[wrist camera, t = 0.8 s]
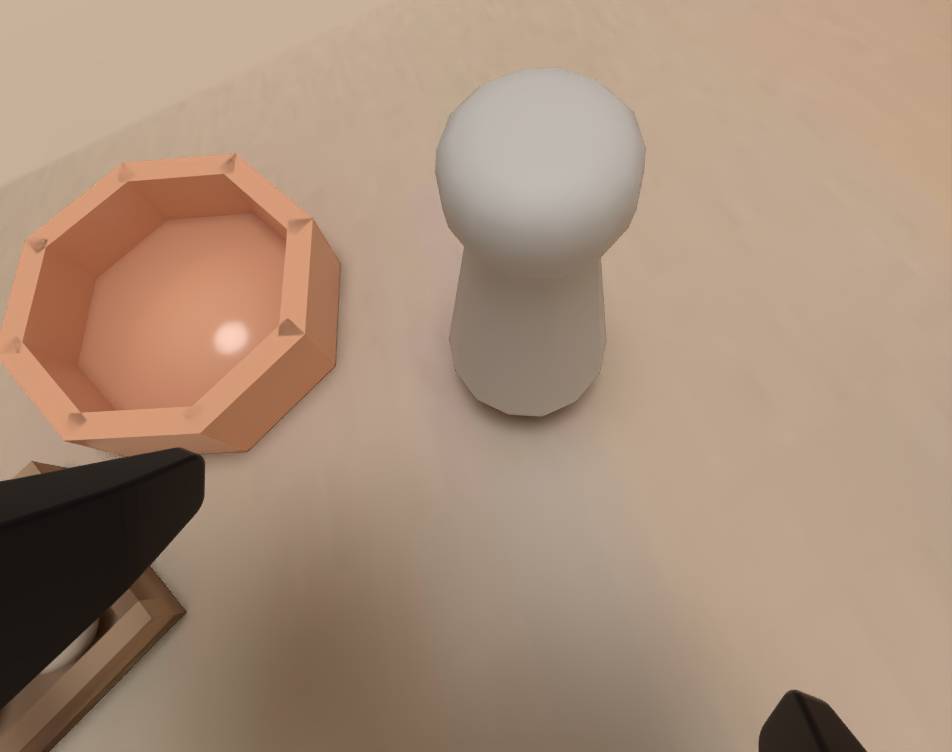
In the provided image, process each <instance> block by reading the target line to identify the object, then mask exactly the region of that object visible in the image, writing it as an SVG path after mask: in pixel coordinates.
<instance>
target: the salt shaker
mask: <svg viewBox="0 0 952 752" xmlns="http://www.w3.org/2000/svg"><path fill="white" fill-rule="evenodd" d="M645 154H646V147H645V144H644V141H643V138H642V135H641V132H640V129H639V126H638V123H637V120H636V117H635V114H634V112H633V111H632V110H631V109H630V108H629V107H628V106H627V105H626V104H625V103H623V102H622V101H621V100H620V99H619V98H618V97H617V96H616V95H614V94H613V93H612V92H611V91H610V90H609V89H608V88H607V87H605V86H604V85H603V84H602V83H600V82H599V81H597V80H595V79H592V78H589V77H586V76H584V75H581V74H578V73H575V72H572V71H569V70H567V69H564V68H535V69H521V70H519V71H516V72H513V73H511V74H508V75H506V76H503V77H500V78H498V79H495V80H492V81H490V82H487V83H485V84H483V85H481V86H479V87H478V88H477V89H476V90H475V91H474V92H473V93H472V94H471V95H470V96H469V97H468V98H467V99H466V100H465V101H463V102H462V103H461V104H460V105H459V106H458V107H457V108H456V109H455V110H454V111H453V112H452V113H451V114H450V115H449V118H448V121H447V123H446V126H445V128H444V131H443V134H442V136H441V139H440V142H439V144H438V147H437V150H436V166H435V174H436V179H437V184H438V189H439V194H440V199H441V204H442V209H443V212H444V215H445V218H446V221H447V224H448V227H449V229H450V230H451V231H452V232H453V233H454V235H455V236H456V237H457V238H458V240H459V241H460V242H461V243H462V244H463V246H464V251H463V257H462V263H461V269H460V275H459V281H458V288H457V294H456V300H455V306H454V312H453V318H452V324H451V330H450V337H449V341H450V346H451V351H452V356H453V361H454V366H455V371H456V372H457V373H458V375H459V376H460V377H461V379H462V380H463V382H464V383H465V384H466V386H467V387H468V389H469V390H470V391H471V393H472V394H473V395H474V397H475V398H476V399H477V400H479V401H481V402H483V403H485V404H487V405H489V406H491V407H493V408H495V409H498V410H500V411H502V412H504V413H506V414H508V415H523V416H545V415H547V414H549V413H552V412H554V411H556V410H558V409H560V408H563V407H565V406H567V405H569V404H572V403H574V402H575V401H577V400H578V398H579V397H580V396H581V395H582V394H583V393H584V391H585V390H586V389H587V388H588V387H589V386H590V385H591V383H592V382H593V381H594V380H595V379H596V378H597V376H598V375H599V374H600V369H601V364H602V360H603V355H604V350H605V346H606V328H605V312H604V297H603V281H602V266H601V257H602V256H603V255H604V254H605V253H606V251H607V250H608V249H609V248H610V247H611V246H612V245H613V244H614V243H615V242H616V241H617V239H618V238H619V237H620V236H621V235H622V234H623V233H624V232H625V231H626V230H627V229H628V227H629V225H630V223H631V221H632V218H633V216H634V214H635V211H636V208H637V203H638V199H639V194H640V189H641V184H642V179H643V174H644V167H645Z"/></svg>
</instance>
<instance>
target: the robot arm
mask: <svg viewBox="0 0 952 752" xmlns="http://www.w3.org/2000/svg"><path fill="white" fill-rule="evenodd" d="M204 492H205V461H204V458H203V457H202V456H201V455H200V454H197V453H195V452H192V451H190V450H187V449H185V448H181V447H176V448H170V449H165V450H160V451H155V452H150V453H144V454H139V455H134V456H129V457H124V458H119V459H113V460H108V461H103V462H98V463H93V464H88V465H83V466H77V467H72V468H67V469H62V470H57V471H52V472H47V473H41V474H36V475H31V476H26V477H21V478H16V479H10V480H5V481H0V711H1V710H2V709H3V708H4V707H5V706H6V705H7V704H8V703H9V702H10V701H11V700H12V699H13V698H14V697H16V696H17V695H18V694H19V693H20V692H21V691H22V690H23V689H24V688H25V687H26V686H27V685H28V684H29V683H30V682H31V681H32V680H34V679H35V678H36V677H37V676H38V675H39V674H40V673H41V672H42V671H43V670H44V669H45V668H46V667H47V666H48V665H49V664H50V663H52V662H53V661H54V660H55V659H56V658H57V657H58V656H59V655H60V654H61V653H62V652H63V651H64V650H65V649H66V648H67V647H68V646H70V645H71V644H72V643H73V642H74V641H75V640H76V639H77V638H78V637H79V636H80V635H81V634H82V633H83V632H84V631H85V630H86V629H87V628H89V627H90V626H91V625H92V624H93V623H94V622H95V621H96V620H97V619H98V618H99V617H100V616H101V615H102V614H103V613H104V612H105V611H107V610H108V609H109V608H110V607H111V606H112V605H113V604H114V603H115V602H116V601H117V600H118V599H119V598H120V597H121V596H122V595H123V594H124V593H125V592H126V591H127V590H128V589H129V588H130V587H131V586H132V585H133V584H134V583H135V582H136V581H137V580H138V579H139V577H140V576H141V575H142V574H143V573H144V572H145V571H146V570H147V568H148V567H149V566H150V565H151V564H152V563H153V562H154V561H155V559H156V558H157V557H158V556H159V555H160V554H161V553H162V552H163V550H164V549H165V548H166V547H167V546H168V545H169V544H170V542H171V541H172V540H173V539H174V538H175V537H176V536H177V535H178V533H179V532H180V531H181V530H182V529H183V528H184V527H185V525H186V524H187V523H188V522H189V521H190V520H191V519H192V518H193V516H194V515H195V514H196V513H197V512H198V510H199V509H200V507H201V505H202V503H203V500H204ZM759 752H867V751H866V750H865V748H864V747H863V746H862V745H861V744H860V742H859V741H858V740H857V739H856V737H855V736H854V735H853V734H852V732H851V731H850V730H849V729H848V727H847V726H846V725H845V724H844V723H843V721H842V720H841V719H840V718H839V716H838V715H837V714H836V713H835V711H834V710H833V709H832V708H831V707H830V706H829V705H828V704H827V703H826V702H825V701H823V700H821V699H819V698H816V697H814V696H811V695H808V694H806V693H803V692H801V691H798V690H790V691H788V692H787V693H786V694H785V695H784V696H783V697H782V699H781V700H780V702H779V703H778V705H777V706H776V708H775V709H774V710H773V712H772V713H771V715H770V716H769V718H768V719H767V721H766V722H765V724H764V725H763V727H762V729H761V732H760V736H759Z"/></svg>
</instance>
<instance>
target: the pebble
mask: <svg viewBox="0 0 952 752" xmlns="http://www.w3.org/2000/svg"><path fill="white" fill-rule="evenodd" d="M99 621H100V617H99V618H98V619H97V620H96V621H95V622H94V623H93V624H92V625H91V626H90V627H89V628H87V629H86V630H85V631H84V632H83V633H82V634H81V635H80V636H79V637H78V638H77V639H76V640H75V641H74V642H73V643H72V644H71V645H70V646H68V647H67V648H66V649H65V650H64V651H63V652H62V653H61V654H60V655H59V656H58V657H57V658H56V659H55V660H54V661H53V662H52V663H50V664H49V665H48V666H47V667H46V668H45V669H44V670H43V671H42V672H41V673H40V674H47V673H51V672H54V671H57V670H59V669H61V668H63V667H65V666H67V665H69V664H71V663H72V662H73V661H75V660H76V659H77V658H79V657H80V656H81V655H82V654H83V653H84V652H85V651H86V650H87V648H88V647H89V646H90V645H91V643H92V641H93V640H94V638H95V636H96V633H97V631H98V627H99ZM40 674H39V675H40Z"/></svg>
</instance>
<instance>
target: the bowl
mask: <svg viewBox="0 0 952 752" xmlns="http://www.w3.org/2000/svg"><path fill="white" fill-rule="evenodd" d="M339 280H340V262H339V261H338V259H337V257H336V256H335V254H334V252H333V251H332V249H331V247H330V246H329V244H328V242H327V241H326V239H325V237H324V236H323V234H322V232H321V231H320V229H319V227H318V226H317V224H316V223H315V221H314V219H313V218H312V217H310V216H309V215H308V214H307V213H306V212H305V211H303V210H302V209H301V208H300V207H299V206H297V205H296V204H295V203H294V202H293V201H292V200H290V199H289V198H288V197H287V196H286V195H284V194H283V193H282V192H281V191H280V190H279V189H277V188H276V187H275V186H274V185H273V184H271V183H270V182H269V181H268V180H267V179H266V178H264V177H263V176H262V175H261V174H260V173H259V172H257V171H256V170H255V169H254V168H253V167H251V166H250V165H249V164H248V163H247V162H246V161H244V160H243V159H242V158H241V157H240V156H238V155H237V154H236V153H233V154H221V155H209V156H197V157H185V158H173V159H161V160H149V161H137V162H125V163H121V164H120V165H119V166H118V167H116V168H115V169H114V170H112V171H111V172H110V173H109V174H107V175H106V176H105V177H104V178H102V179H101V180H100V181H99V182H97V183H96V184H95V185H94V186H92V187H91V188H90V189H89V190H87V191H86V192H85V193H84V194H82V195H81V196H80V197H78V198H77V199H76V200H75V201H73V202H72V203H71V204H70V205H68V206H67V207H66V208H65V209H63V210H62V211H61V212H60V213H58V214H57V215H56V216H55V217H53V218H52V219H51V220H50V221H48V222H47V223H46V224H45V225H43V226H42V227H41V228H39V229H38V230H37V231H36V232H34V233H33V234H32V235H31V236H29V237H28V238H27V239H26V240H24V245H23V249H22V252H21V256H20V260H19V264H18V267H17V271H16V275H15V279H14V282H13V286H12V290H11V294H10V298H9V301H8V305H7V309H6V313H5V316H4V320H3V324H2V328H1V331H0V361H1V363H2V364H3V365H4V366H5V368H6V369H7V370H8V371H9V373H10V374H11V375H12V376H13V378H14V379H15V380H16V381H17V383H18V384H19V385H20V386H21V388H22V389H23V390H24V391H25V393H26V394H27V395H28V396H29V398H30V399H31V400H32V401H33V403H34V404H35V405H36V406H37V408H38V409H39V410H40V411H41V413H42V414H43V415H44V416H45V418H46V419H47V420H48V421H49V423H50V424H51V425H52V426H53V428H54V429H55V430H56V431H57V433H58V434H59V435H60V436H61V438H62V439H63V440H64V441H66V442H71V443H75V444H79V445H83V446H87V447H91V448H95V449H99V450H103V451H107V452H111V453H115V454H119V455H123V456H127V457H129V456H134V455H139V454H144V453H150V452H155V451H160V450H165V449H170V448H176V447H181V448H185V449H187V450H190V451H192V452H195V453H197V454H207V453H226V452H246V451H248V450H249V449H250V448H251V447H252V446H254V445H255V444H256V443H257V442H258V441H259V440H260V439H261V438H262V437H263V436H264V435H265V434H266V433H267V432H268V431H269V430H270V429H271V428H272V427H273V426H274V425H275V424H276V423H277V422H278V421H279V420H280V419H281V418H282V417H283V416H284V415H285V414H286V413H287V412H288V411H289V410H291V409H292V408H293V407H294V406H295V405H296V404H297V403H298V402H299V401H300V400H301V399H302V398H303V397H304V396H305V395H306V394H307V393H308V392H309V391H310V390H311V389H312V388H313V387H314V386H315V385H316V384H317V383H318V382H319V381H320V380H321V379H322V378H323V377H324V376H325V375H326V374H327V373H329V372H330V371H331V370H332V369H333V368H334V367H335V362H336V342H337V321H338V300H339Z"/></svg>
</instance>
